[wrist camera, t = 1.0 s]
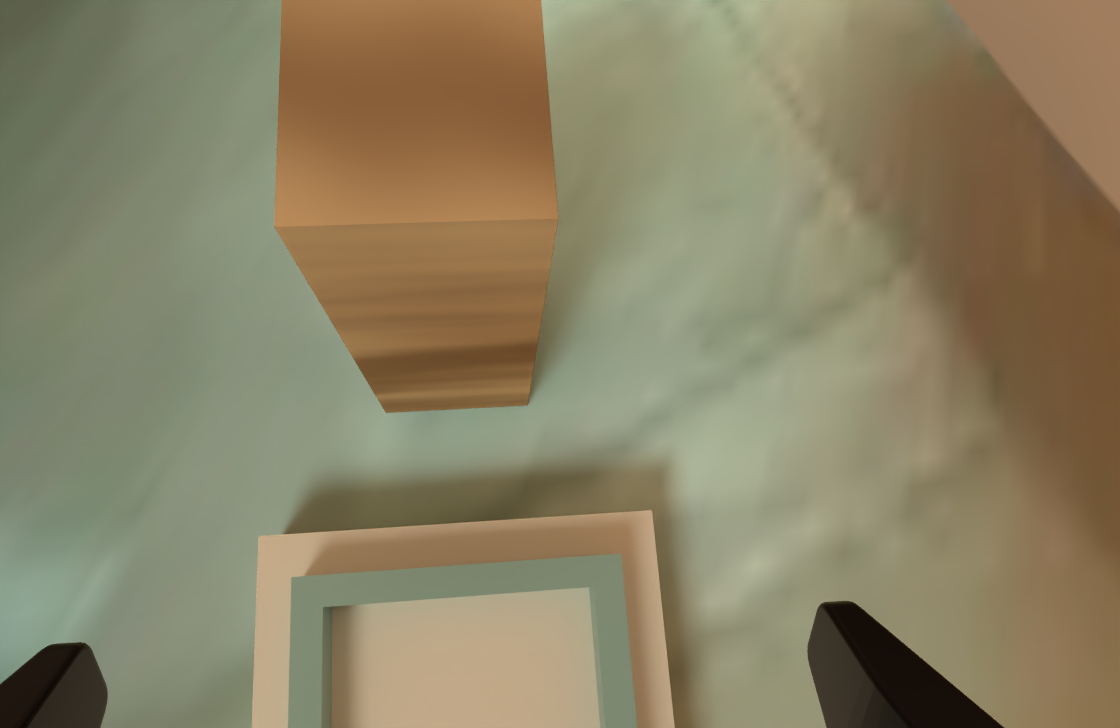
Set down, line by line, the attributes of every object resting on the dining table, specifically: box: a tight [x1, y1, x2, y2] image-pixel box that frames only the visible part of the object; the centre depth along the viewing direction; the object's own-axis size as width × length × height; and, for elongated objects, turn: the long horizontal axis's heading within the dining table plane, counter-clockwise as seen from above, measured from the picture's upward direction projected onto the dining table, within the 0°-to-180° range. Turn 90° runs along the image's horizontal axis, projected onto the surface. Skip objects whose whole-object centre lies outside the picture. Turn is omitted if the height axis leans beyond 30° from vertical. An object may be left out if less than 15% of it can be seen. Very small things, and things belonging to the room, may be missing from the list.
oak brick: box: [274, 0, 558, 413], centre depth 19 cm, size 4×4×13 cm
